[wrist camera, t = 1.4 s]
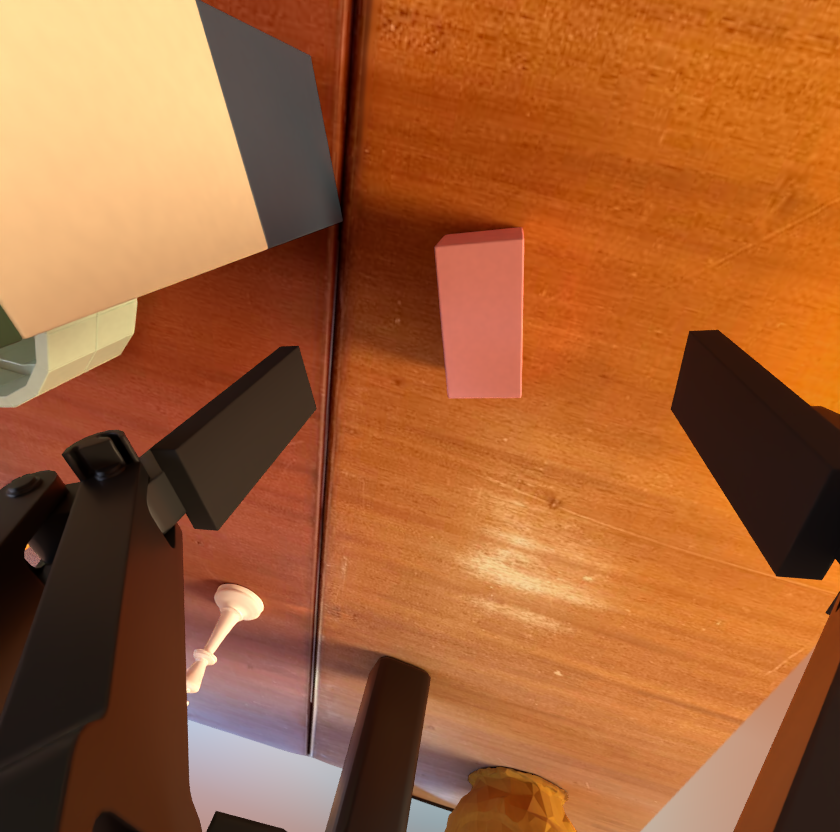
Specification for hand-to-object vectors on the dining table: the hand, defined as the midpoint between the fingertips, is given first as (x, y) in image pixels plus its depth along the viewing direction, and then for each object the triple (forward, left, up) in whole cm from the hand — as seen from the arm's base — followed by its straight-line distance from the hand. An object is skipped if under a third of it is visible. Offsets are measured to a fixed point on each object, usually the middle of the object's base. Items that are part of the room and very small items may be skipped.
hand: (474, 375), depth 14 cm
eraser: (0, 0, -7) cm, 7 cm away
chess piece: (+28, -25, -7) cm, 38 cm away
